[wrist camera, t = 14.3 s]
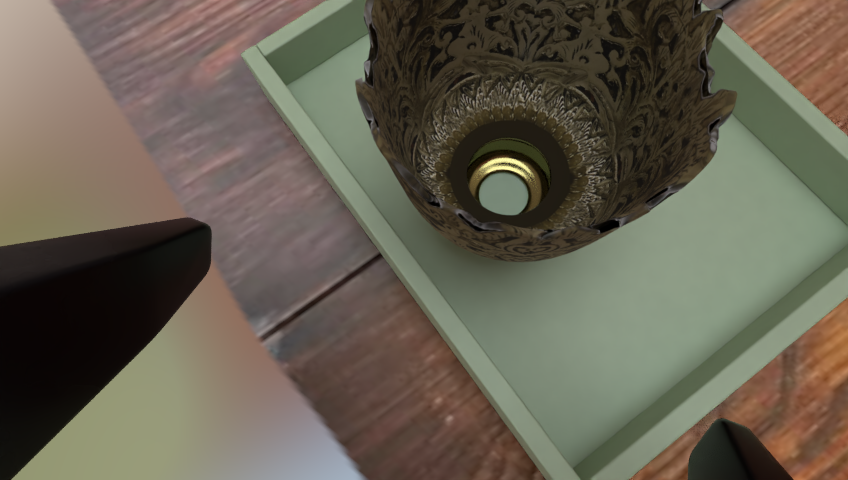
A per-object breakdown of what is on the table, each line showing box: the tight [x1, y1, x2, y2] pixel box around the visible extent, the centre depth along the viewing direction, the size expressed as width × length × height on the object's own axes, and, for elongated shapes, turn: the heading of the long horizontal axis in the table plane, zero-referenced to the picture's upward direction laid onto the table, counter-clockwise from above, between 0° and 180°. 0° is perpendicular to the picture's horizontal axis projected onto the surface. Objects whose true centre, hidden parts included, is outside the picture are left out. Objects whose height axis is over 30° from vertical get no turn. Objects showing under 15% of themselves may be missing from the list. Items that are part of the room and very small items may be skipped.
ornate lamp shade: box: [355, 0, 737, 262], centre depth 14 cm, size 8×7×8 cm
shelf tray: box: [241, 0, 848, 480], centre depth 18 cm, size 13×17×3 cm
